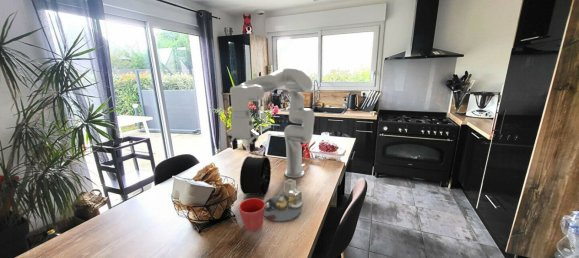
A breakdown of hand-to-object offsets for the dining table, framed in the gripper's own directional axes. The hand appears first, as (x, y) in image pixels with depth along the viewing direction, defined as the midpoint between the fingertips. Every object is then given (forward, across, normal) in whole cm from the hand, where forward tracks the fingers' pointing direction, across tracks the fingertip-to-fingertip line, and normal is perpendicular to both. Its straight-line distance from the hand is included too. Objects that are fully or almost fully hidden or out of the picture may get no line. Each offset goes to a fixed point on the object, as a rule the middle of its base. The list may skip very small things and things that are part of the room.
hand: (243, 150), depth 106 cm
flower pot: (+28, -11, +13) cm, 33 cm away
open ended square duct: (+28, -16, -17) cm, 36 cm away
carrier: (+28, -18, -2) cm, 33 cm away
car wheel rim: (+29, +2, -11) cm, 31 cm away
